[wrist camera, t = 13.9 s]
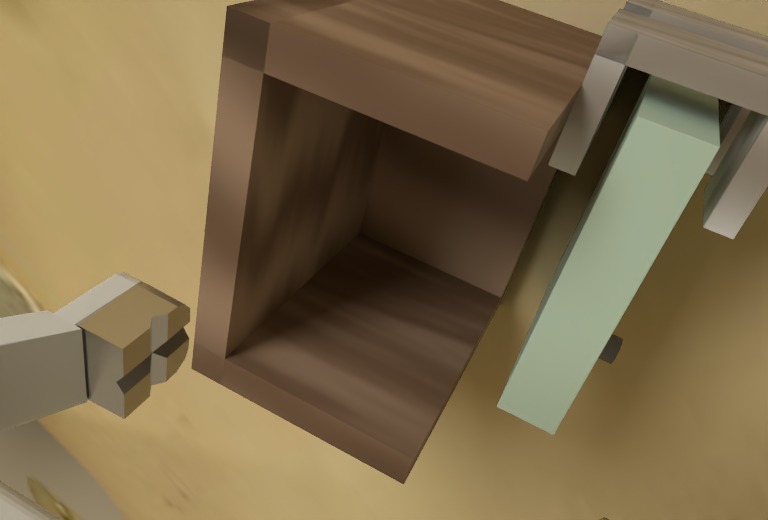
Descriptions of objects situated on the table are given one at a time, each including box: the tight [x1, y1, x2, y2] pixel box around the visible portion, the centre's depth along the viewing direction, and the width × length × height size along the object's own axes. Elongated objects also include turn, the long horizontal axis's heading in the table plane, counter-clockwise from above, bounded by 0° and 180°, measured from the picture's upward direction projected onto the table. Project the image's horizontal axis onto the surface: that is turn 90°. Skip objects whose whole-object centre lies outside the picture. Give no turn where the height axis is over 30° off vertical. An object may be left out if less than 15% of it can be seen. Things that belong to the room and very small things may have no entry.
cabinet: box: [192, 0, 768, 484], centre depth 26 cm, size 17×16×14 cm
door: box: [496, 74, 720, 435], centre depth 27 cm, size 13×4×10 cm, turn 166°
